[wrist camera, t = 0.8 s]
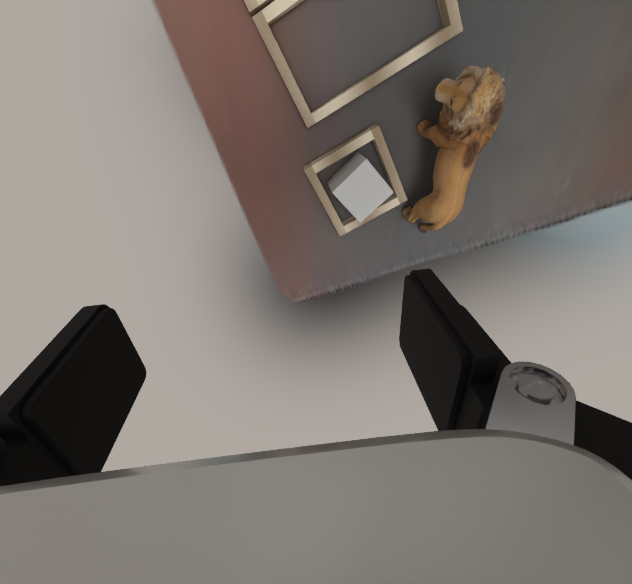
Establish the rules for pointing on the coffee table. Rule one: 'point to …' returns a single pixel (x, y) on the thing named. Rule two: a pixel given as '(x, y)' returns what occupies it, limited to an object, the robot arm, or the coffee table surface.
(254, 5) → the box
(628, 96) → the coffee table surface
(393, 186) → the small box
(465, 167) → the lion figurine
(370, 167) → the grey block
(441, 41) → the middle box
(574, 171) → the coffee table surface
